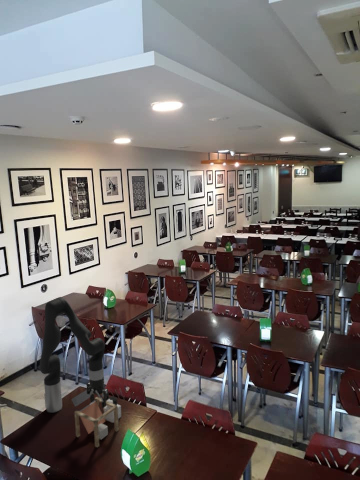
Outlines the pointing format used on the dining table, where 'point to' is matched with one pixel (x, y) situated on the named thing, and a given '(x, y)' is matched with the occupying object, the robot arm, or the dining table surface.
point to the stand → (95, 421)
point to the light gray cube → (102, 431)
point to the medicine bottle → (111, 416)
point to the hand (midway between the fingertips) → (98, 404)
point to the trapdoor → (88, 411)
